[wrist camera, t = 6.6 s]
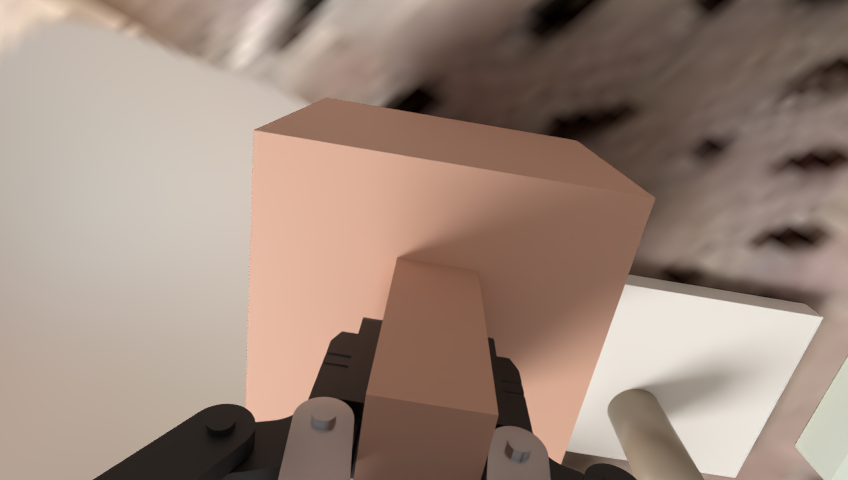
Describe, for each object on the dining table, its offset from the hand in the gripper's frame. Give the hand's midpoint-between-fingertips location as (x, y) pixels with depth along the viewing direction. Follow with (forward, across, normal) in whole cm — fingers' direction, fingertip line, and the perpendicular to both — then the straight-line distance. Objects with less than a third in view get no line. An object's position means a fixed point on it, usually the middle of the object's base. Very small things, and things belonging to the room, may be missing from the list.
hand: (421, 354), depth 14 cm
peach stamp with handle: (+10, 0, 0) cm, 10 cm away
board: (+14, -16, +8) cm, 22 cm away
